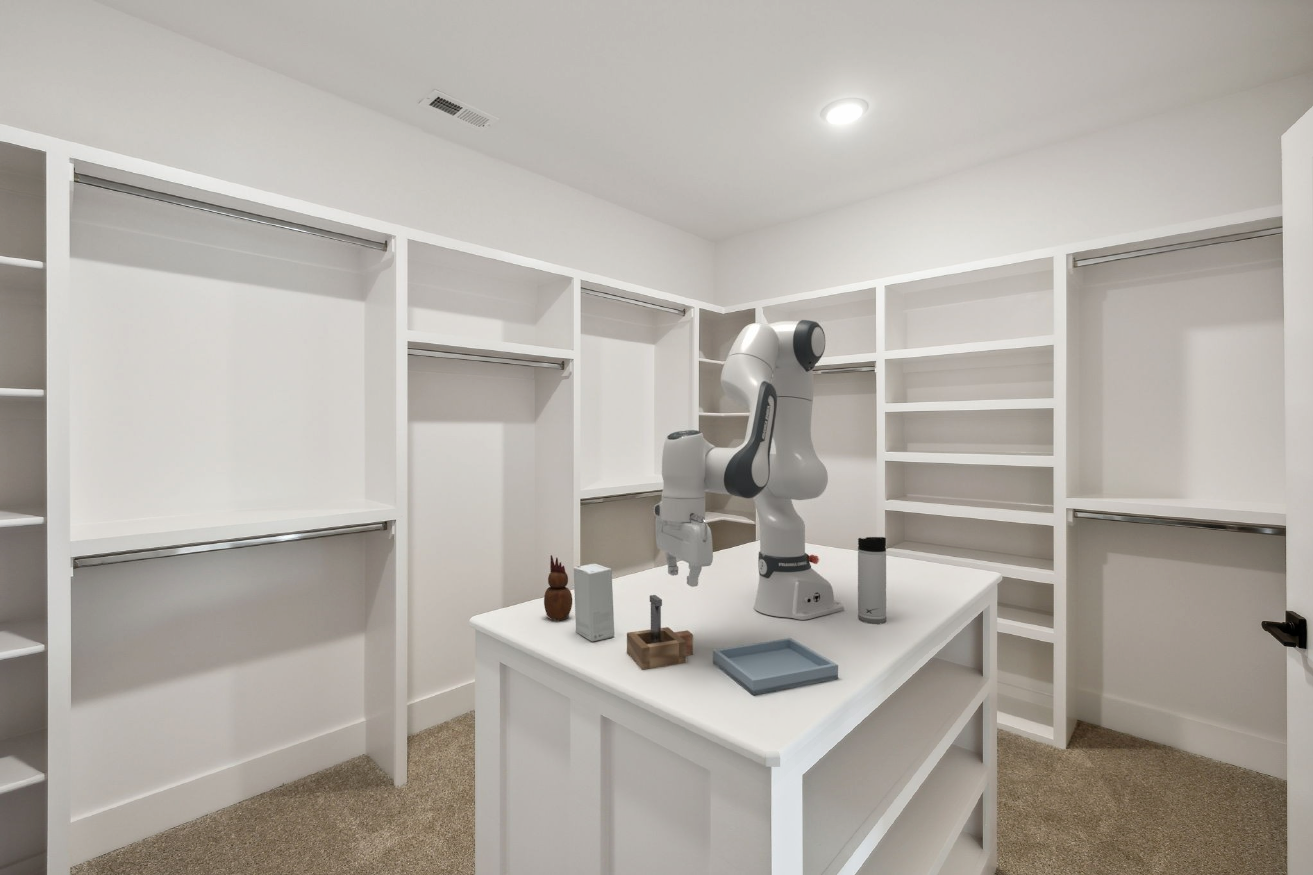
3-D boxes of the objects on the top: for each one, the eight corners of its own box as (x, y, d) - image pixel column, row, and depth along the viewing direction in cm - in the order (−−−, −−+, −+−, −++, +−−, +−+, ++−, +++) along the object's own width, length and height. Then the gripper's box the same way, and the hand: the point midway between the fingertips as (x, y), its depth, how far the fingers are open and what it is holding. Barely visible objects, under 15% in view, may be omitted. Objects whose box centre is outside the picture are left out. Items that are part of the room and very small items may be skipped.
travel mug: (872, 626, 129) (872, 538, 129) (852, 617, 135) (852, 534, 135) (893, 622, 132) (893, 536, 132) (872, 614, 138) (872, 532, 138)
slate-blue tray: (790, 650, 115) (790, 637, 115) (838, 678, 101) (838, 664, 101) (713, 663, 108) (713, 650, 108) (753, 695, 95) (753, 680, 95)
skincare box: (614, 637, 122) (614, 569, 122) (589, 643, 119) (589, 572, 119) (597, 626, 129) (596, 561, 129) (572, 631, 126) (572, 565, 126)
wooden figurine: (539, 618, 135) (539, 555, 135) (559, 612, 140) (558, 552, 140) (557, 624, 131) (556, 559, 131) (576, 618, 135) (576, 555, 135)
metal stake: (661, 652, 114) (661, 593, 114) (669, 659, 110) (668, 599, 110) (642, 655, 112) (642, 595, 112) (649, 662, 108) (649, 601, 108)
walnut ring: (681, 644, 118) (681, 625, 118) (700, 660, 110) (700, 639, 110) (626, 652, 114) (626, 632, 114) (642, 669, 105) (642, 648, 105)
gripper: (721, 517, 105) (720, 591, 105) (677, 505, 124) (676, 568, 124) (690, 518, 102) (690, 594, 102) (650, 505, 121) (649, 570, 121)
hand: (682, 580), depth 113 cm, fingers open, 8 cm apart
